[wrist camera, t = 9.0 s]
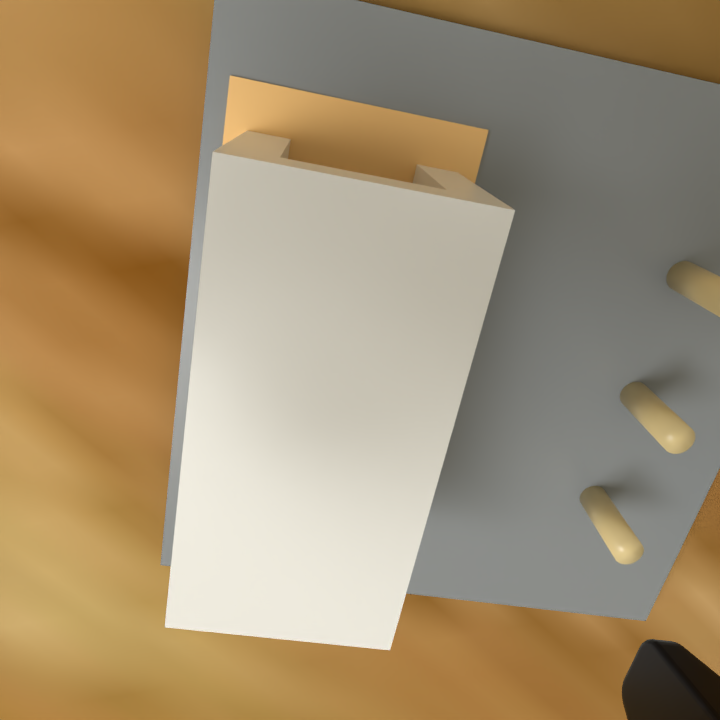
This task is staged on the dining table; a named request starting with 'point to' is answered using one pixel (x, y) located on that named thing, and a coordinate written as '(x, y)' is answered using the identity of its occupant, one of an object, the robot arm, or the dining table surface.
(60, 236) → the dining table surface
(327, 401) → the block
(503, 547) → the header board
